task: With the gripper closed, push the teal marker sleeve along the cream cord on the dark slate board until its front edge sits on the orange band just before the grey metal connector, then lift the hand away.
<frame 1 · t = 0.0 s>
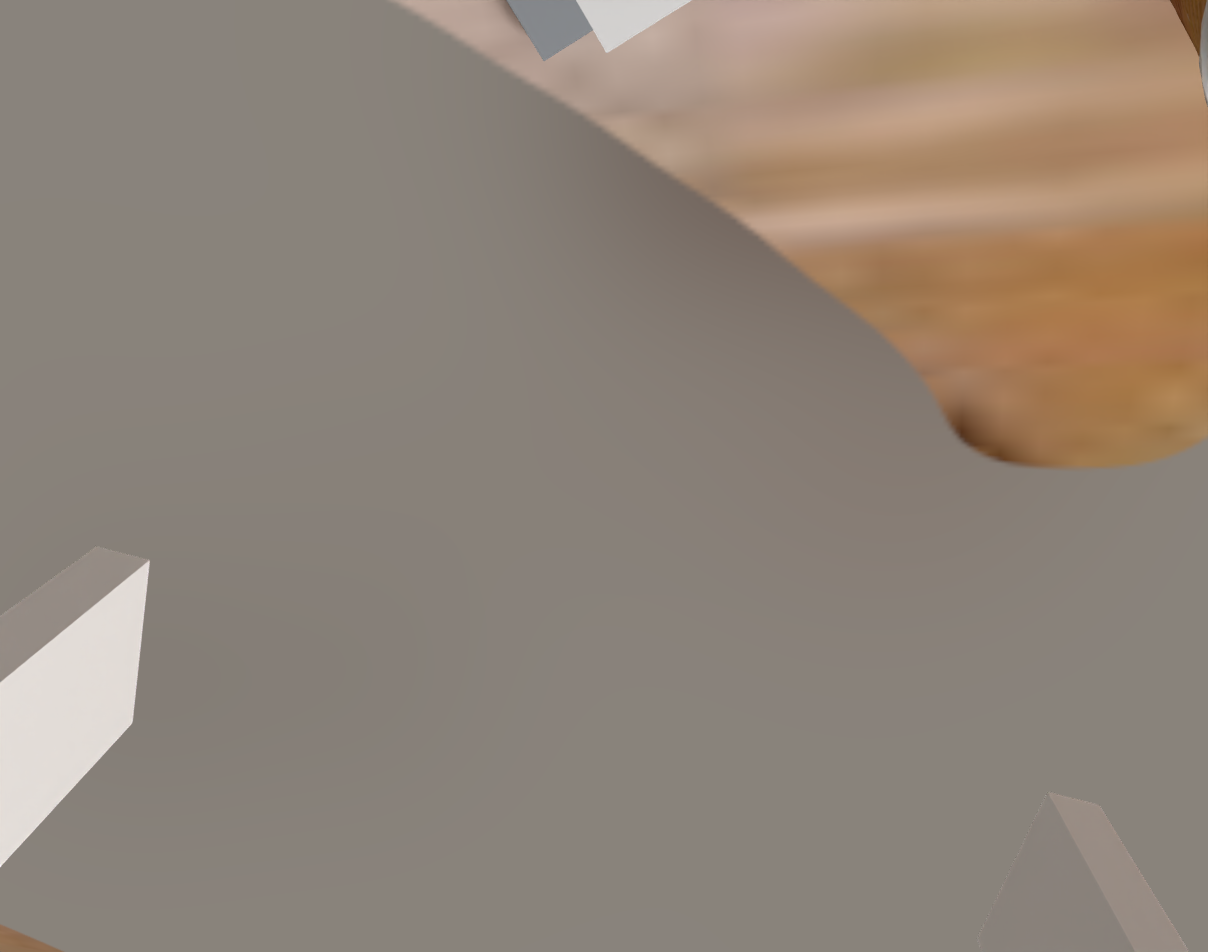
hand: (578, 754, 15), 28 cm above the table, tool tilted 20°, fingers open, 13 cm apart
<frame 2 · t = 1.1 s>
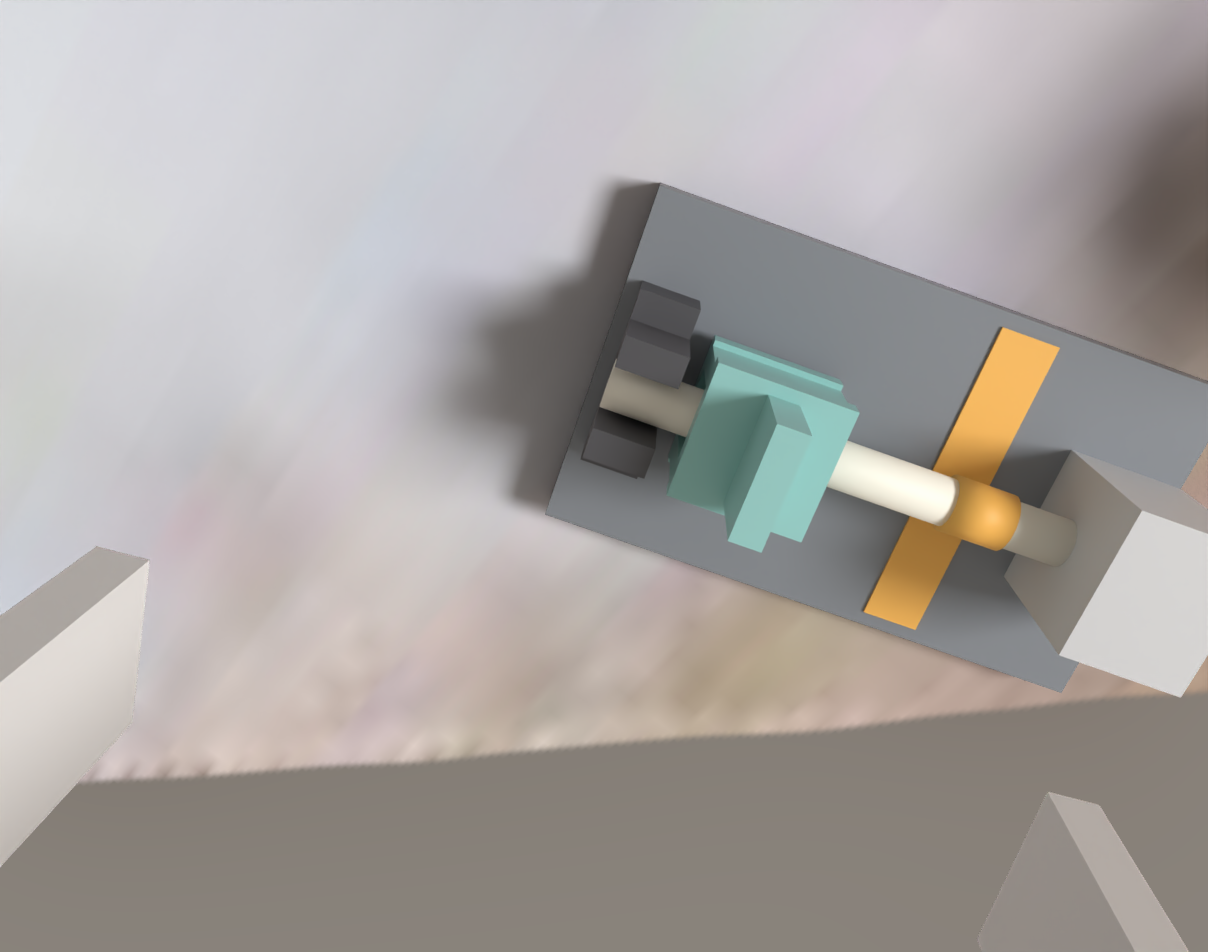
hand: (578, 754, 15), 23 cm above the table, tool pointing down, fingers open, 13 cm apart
sleeve: (759, 449, 31), point 6 cm above the table, slide at 0.0 cm
cable board: (867, 443, 36), on the table
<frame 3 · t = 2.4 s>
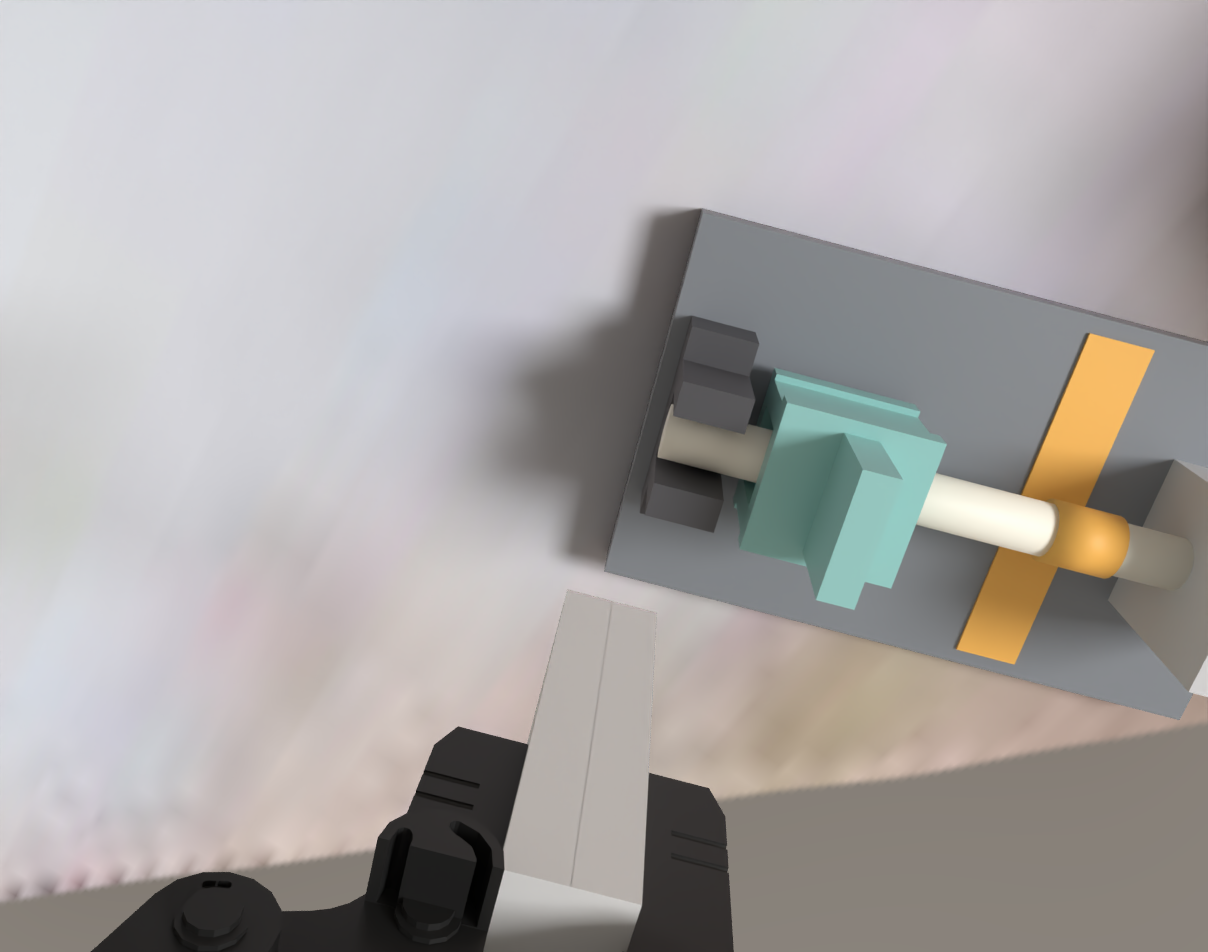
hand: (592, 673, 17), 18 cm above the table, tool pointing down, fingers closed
sleeve: (837, 491, 28), point 5 cm above the table, slide at 0.0 cm
cable board: (945, 468, 34), on the table
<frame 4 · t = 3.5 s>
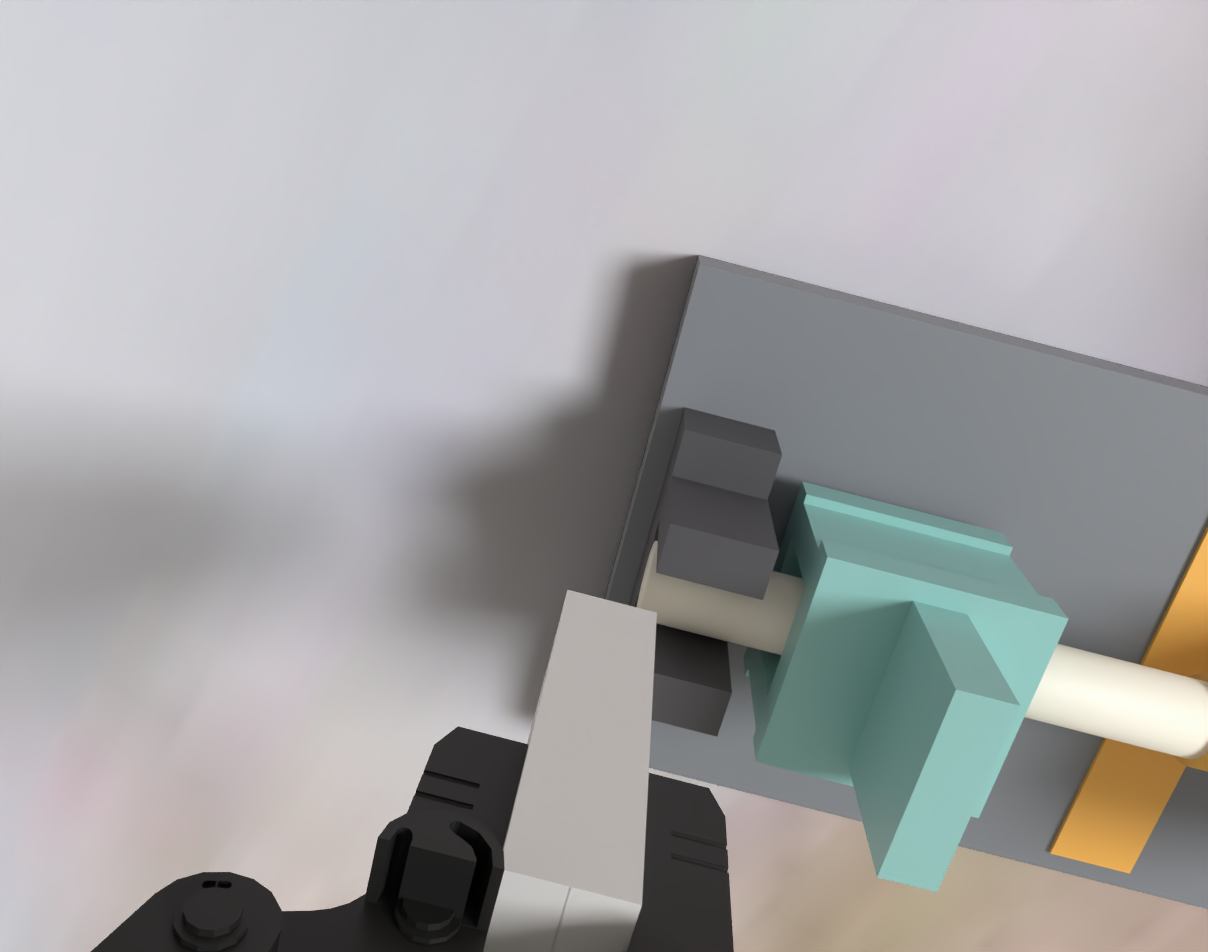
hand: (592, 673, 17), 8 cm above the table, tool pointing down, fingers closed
sleeve: (900, 678, 19), point 5 cm above the table, slide at 0.0 cm
cable board: (1035, 606, 24), on the table
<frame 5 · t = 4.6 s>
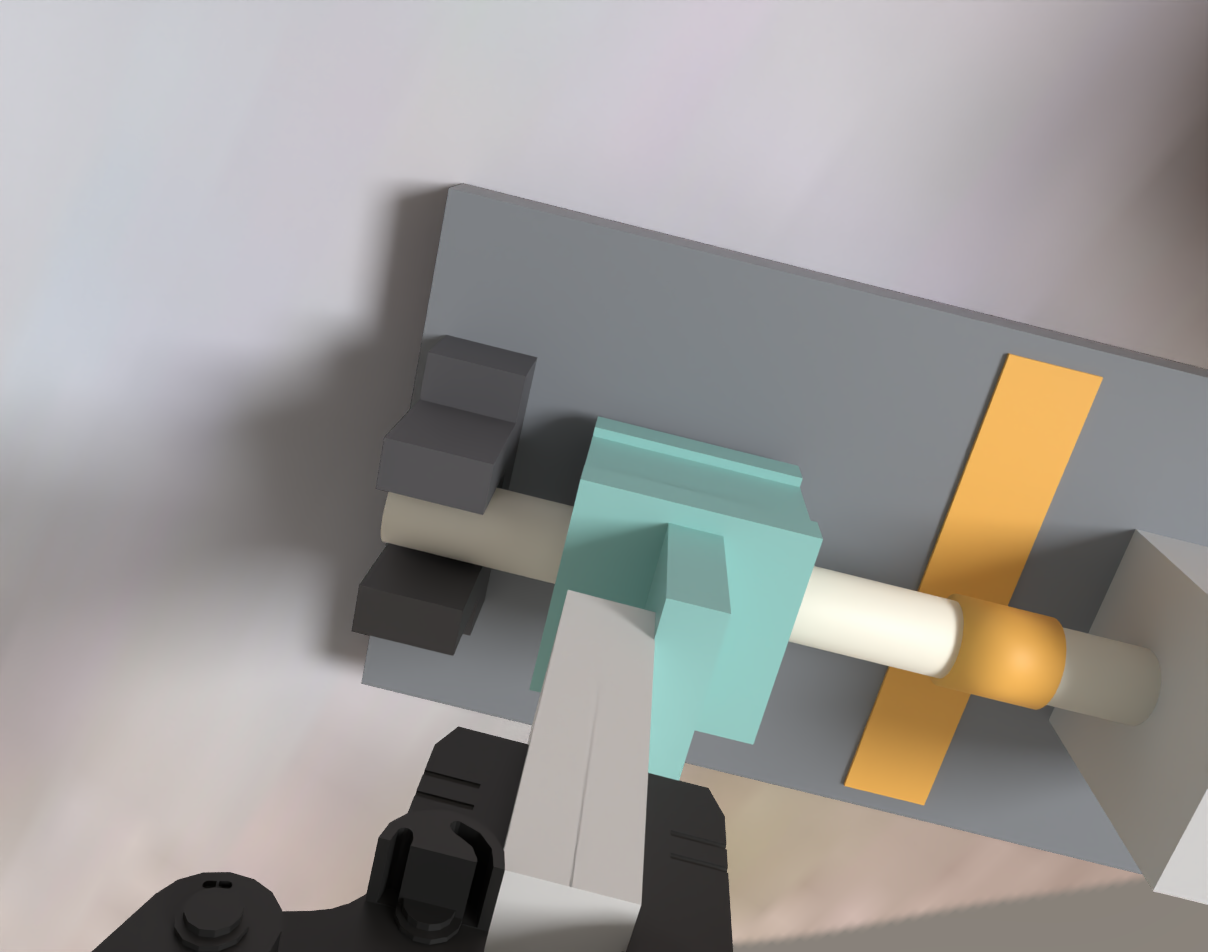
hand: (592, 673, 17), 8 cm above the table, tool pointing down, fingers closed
sleeve: (670, 605, 19), point 5 cm above the table, slide at 0.8 cm, touching gripper
cable board: (824, 538, 24), on the table
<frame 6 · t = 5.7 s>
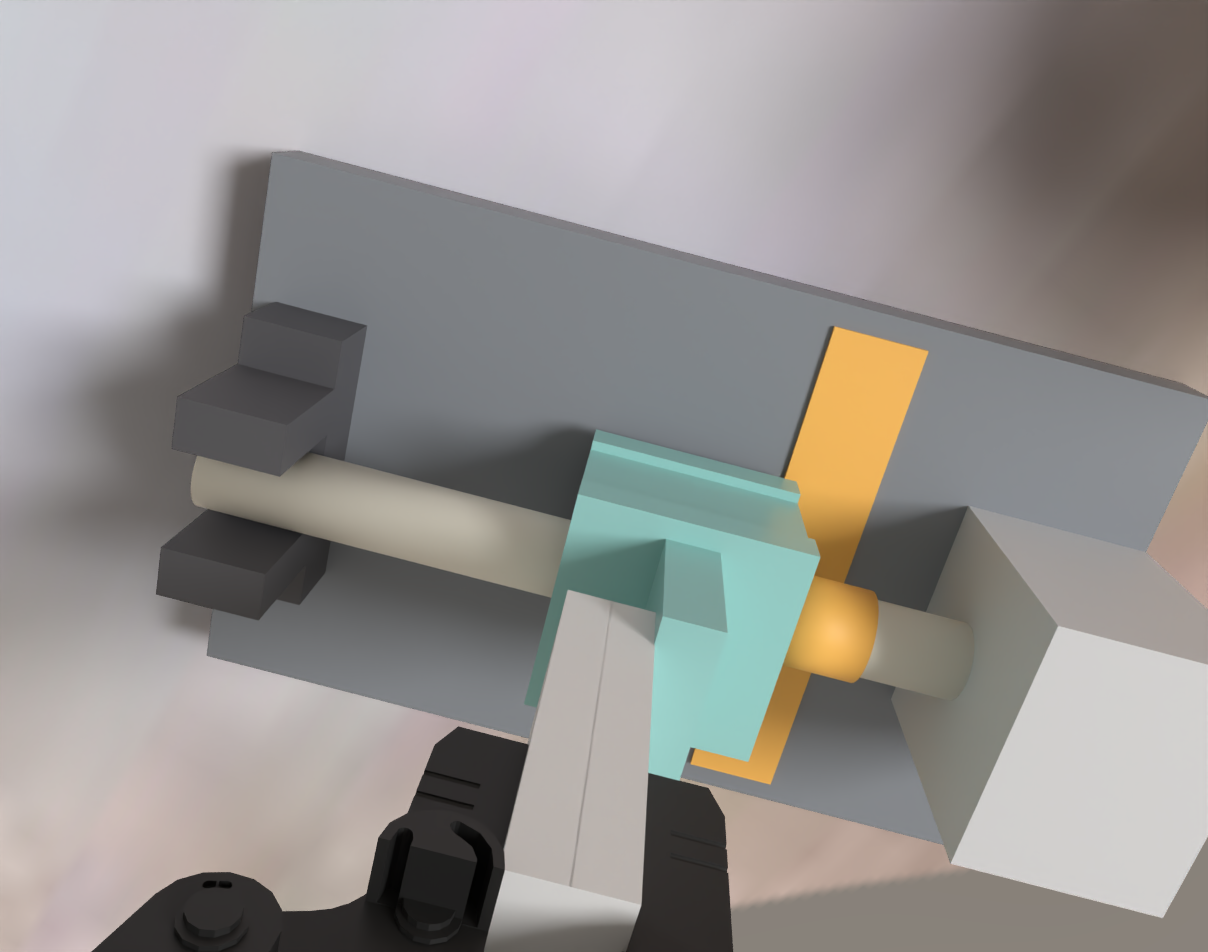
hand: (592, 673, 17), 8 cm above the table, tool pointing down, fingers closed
sleeve: (666, 620, 19), point 5 cm above the table, slide at 4.5 cm, touching gripper
cable board: (671, 514, 24), on the table
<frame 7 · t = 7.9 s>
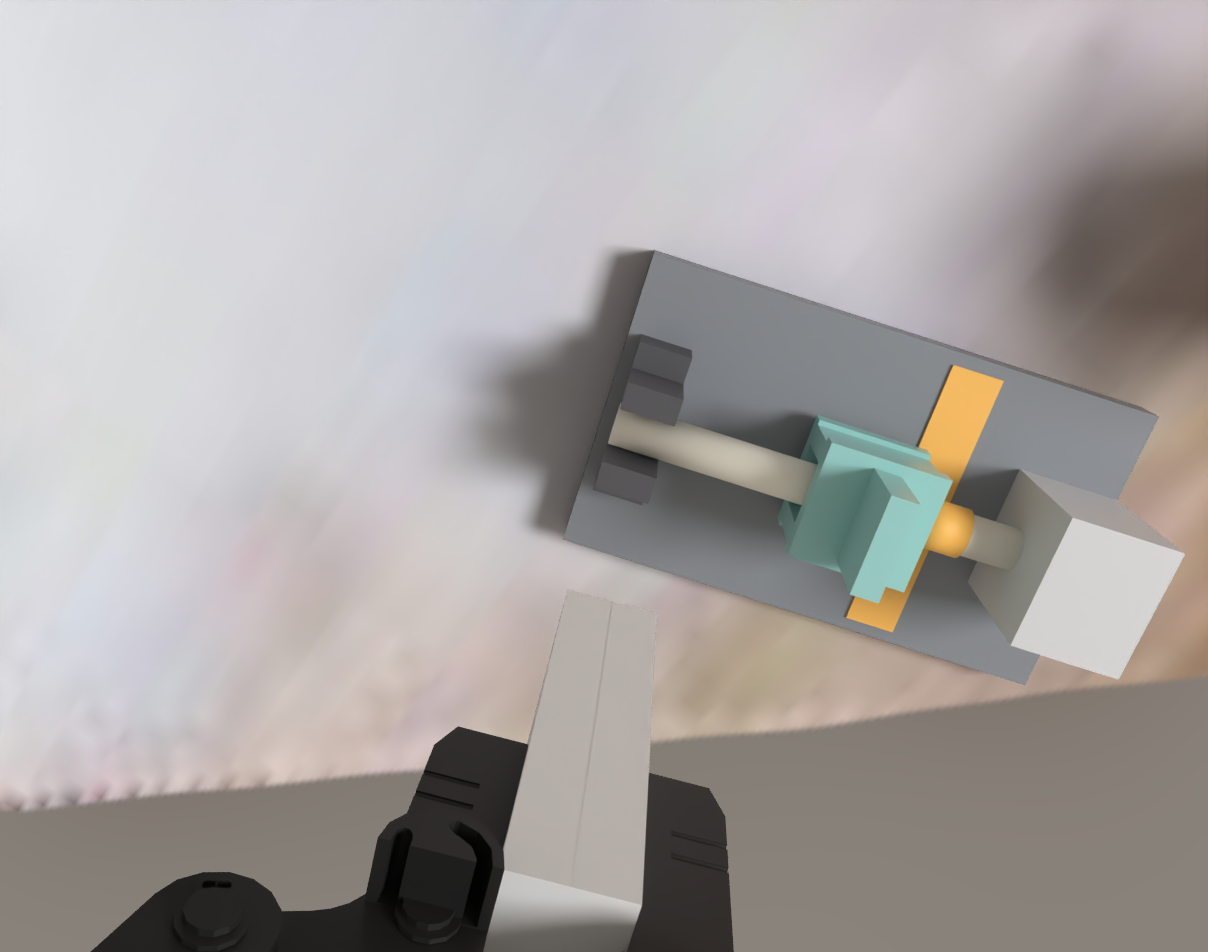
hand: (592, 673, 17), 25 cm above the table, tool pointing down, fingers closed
sleeve: (866, 514, 36), point 5 cm above the table, slide at 4.5 cm
cable board: (843, 469, 41), on the table
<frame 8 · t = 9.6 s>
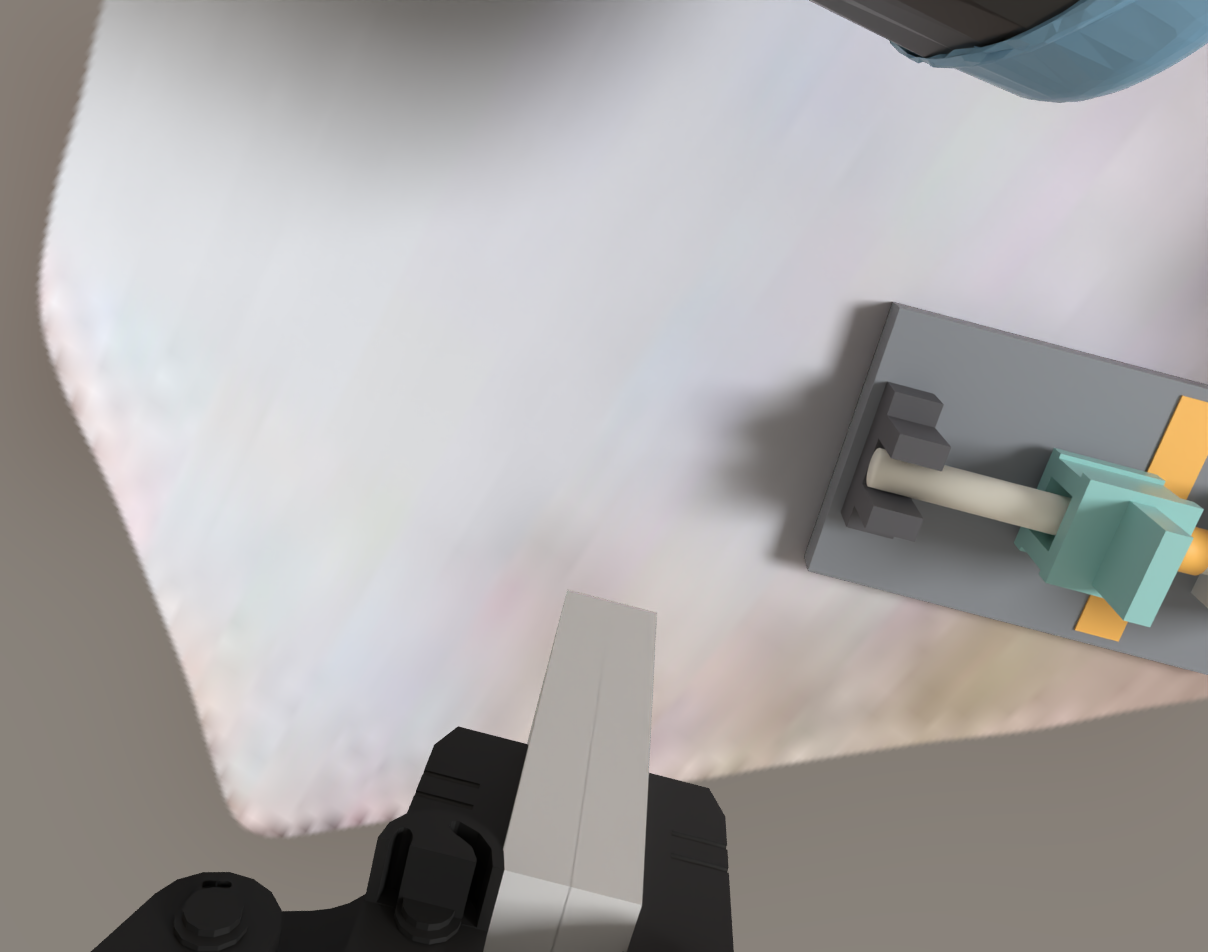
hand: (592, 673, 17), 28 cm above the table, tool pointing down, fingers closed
sleeve: (1117, 541, 39), point 6 cm above the table, slide at 4.5 cm
cable board: (1067, 493, 44), on the table
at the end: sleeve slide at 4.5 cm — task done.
